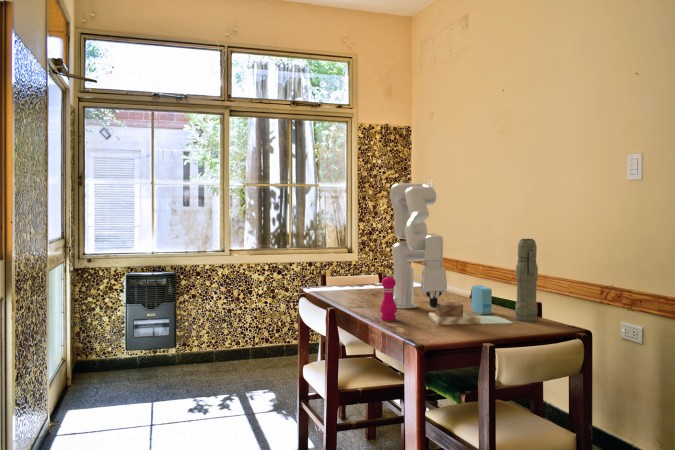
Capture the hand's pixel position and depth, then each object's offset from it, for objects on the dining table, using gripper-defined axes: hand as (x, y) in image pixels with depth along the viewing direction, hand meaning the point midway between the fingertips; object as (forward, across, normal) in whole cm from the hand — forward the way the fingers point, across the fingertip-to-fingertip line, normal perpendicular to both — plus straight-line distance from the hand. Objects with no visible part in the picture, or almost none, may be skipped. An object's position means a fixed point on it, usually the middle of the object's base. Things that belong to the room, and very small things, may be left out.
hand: (433, 307), depth 231 cm
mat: (+6, +25, 0) cm, 26 cm away
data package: (+6, +28, +17) cm, 33 cm away
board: (+6, +9, 0) cm, 11 cm away
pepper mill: (+6, -18, +6) cm, 20 cm away
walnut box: (+4, +7, 0) cm, 8 cm away
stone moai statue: (+6, +41, -1) cm, 41 cm away
